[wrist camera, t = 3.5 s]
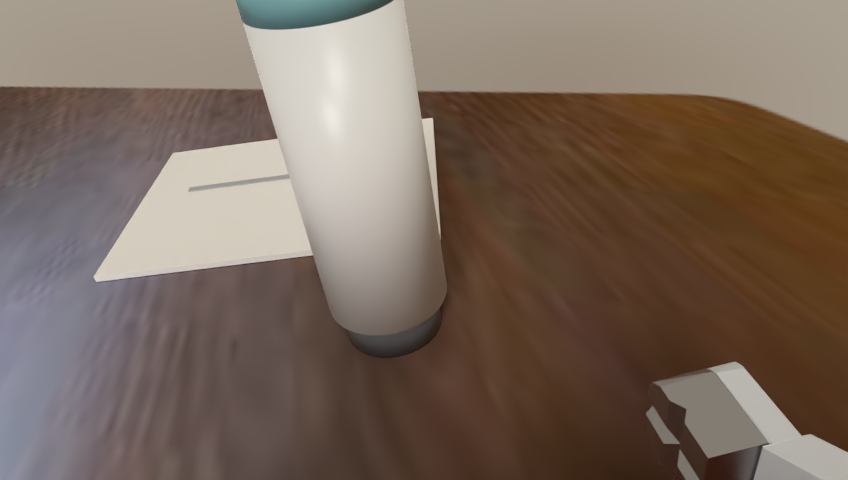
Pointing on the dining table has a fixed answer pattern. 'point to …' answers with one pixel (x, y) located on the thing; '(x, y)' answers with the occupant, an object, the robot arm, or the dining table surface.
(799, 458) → the robot arm
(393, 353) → the marker
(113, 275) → the paper
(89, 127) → the dining table surface
